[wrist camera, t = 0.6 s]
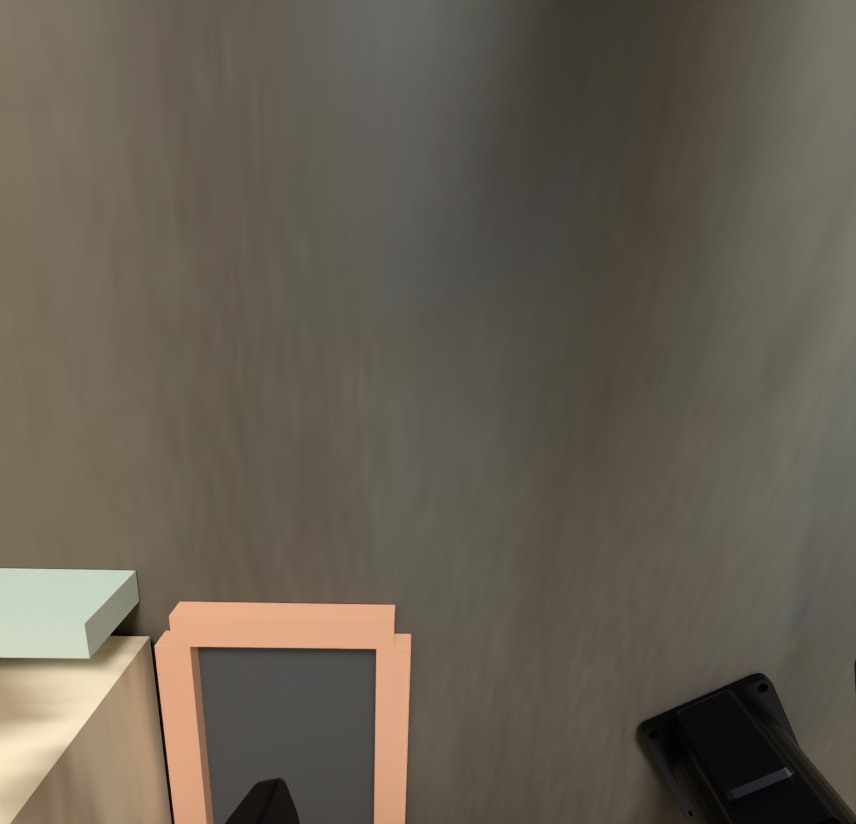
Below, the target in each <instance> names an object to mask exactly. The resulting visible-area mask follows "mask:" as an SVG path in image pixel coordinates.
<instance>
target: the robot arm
mask: <svg viewBox="0 0 856 824" xmlns="http://www.w3.org/2000/svg"><path fill="white" fill-rule="evenodd" d="M854 668H855V688H856V660H855V663H854ZM652 731H653V732H652ZM640 732H641V734H642V736H643V738H644V740H645V742H646V744H647V746H648V748H649V750H650V752H651V754H652V756H653V757H654V759H655V761H656V763H657V765H658V767H659V769H660V771H661V773H662V775H663V777H664V778H665V780H666V782H667V784H668V786H669V788H670V790H671V792H672V794H673V796H674V798H675V799H676V801H677V803H678V805H679V807H680V809H681V811H682V813H683V815H684V816H685V817H686V818H687V819H689V820H694V819H695V820H696V822H697V824H856V815H855V814H854V812H853V811H852V810H851V809H850V808H849V806H848V805H847V804H846V803H845V802H844V800H843V799H842V798H841V797H840V796H839V794H838V793H837V792H836V791H835V790H834V788H833V787H832V786H831V785H830V784H829V782H828V781H827V780H826V779H825V777H824V776H823V775H822V774H821V773H820V771H819V770H818V769H817V768H816V767H815V765H814V764H813V763H812V762H811V761H810V759H809V758H808V757H807V756H806V755H805V753H804V752H803V751H802V750H801V749H800V747H799V745H798V742H797V740H796V738H795V735H794V733H793V731H792V728H791V726H790V724H789V721H788V719H787V716H786V714H785V712H784V709H783V707H782V705H781V702H780V700H779V698H778V695H777V693H776V690H775V688H774V686H773V684H772V682H771V681H770V680H769V679H768V678H767V677H766V676H765V675H764V674H762V673H756V674H753V675H751V676H748V677H746V678H744V679H741V680H739V681H737V682H734V683H732V684H730V685H728V686H725V687H723V688H721V689H718V690H716V691H714V692H711V693H709V694H707V695H705V696H702V697H700V698H698V699H695V700H693V701H691V702H688V703H686V704H684V705H682V706H679V707H677V708H675V709H672V710H670V711H668V712H665V713H663V714H661V715H659V716H656V717H654V718H652V719H649V720H647V721H645V722H644V723H642V725H641V726H640ZM224 824H300V821H299V816H298V812H297V810H296V807H295V804H294V802H293V799H292V797H291V794H290V791H289V789H288V786H287V784H286V782H285V780H284V779H283V778H282V777H275V778H270V779H265V780H261V781H258V782H257V783H256V784H254V785H253V787H252V788H251V789H250V790H249V792H248V793H247V794H246V796H245V797H244V798H243V799H242V801H241V802H240V803H239V805H238V806H237V807H236V809H235V810H234V811H233V812H232V814H231V815H230V816H229V818H228V819H227V820H226V821H225V823H224Z"/></svg>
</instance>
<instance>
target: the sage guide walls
mask: <svg viewBox="0 0 856 824" xmlns="http://www.w3.org/2000/svg"><path fill="white" fill-rule="evenodd" d="M138 602H139V594H138V585H137V577H136V571H128V570H71V569H14V568H0V658H87V659H90V658H91V656H92V655H93V654H94V653H95V652H96V651H97V650H98V648H99V647H100V646H101V645H102V644H103V643H104V641H105V640H106V639H107V638H108V637H109V636H110V634H111V633H112V632H113V631H114V630H115V629H116V627H117V626H118V625H119V624H120V623H121V622H122V621H123V619H124V618H125V617H126V616H127V615H128V614H129V612H130V611H131V610H132V609H133V608H134V607H135V605H136V604H137V603H138Z"/></svg>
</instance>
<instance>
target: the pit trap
mask: <svg viewBox="0 0 856 824" xmlns="http://www.w3.org/2000/svg"><path fill="white" fill-rule="evenodd" d="M169 621H170V631H165V632H164V633H163V635H162V636H161V638H160V639H159V640H158V642H157V643H156V645H155V646H154V647H155V656H156V665H157V673H158V682H159V691H160V699H161V708H162V717H163V726H164V734H165V743H166V752H167V760H168V769H169V778H170V786H171V795H172V804H173V813H174V821H175V824H224V823H225V821H226V820H227V819H228V818H229V816H230V815H231V814H232V812H233V811H234V810H235V809H236V807H237V806H238V805H239V803H240V802H241V801H242V799H243V798H244V797H245V796H246V794H247V793H248V792H249V790H250V789H251V788H252V787H253V785H254V784H256V783H257V782H258V781H261V780H265V779H270V778H275V777H282V778H283V779H284V780H285V782H286V784H287V786H288V789H289V791H290V794H291V797H292V799H293V802H294V804H295V807H296V810H297V812H298V816H299V821H300V824H405V807H406V777H407V747H408V717H409V688H410V658H411V634H394V631H395V605H367V604H302V603H237V602H179V603H178V605H177V606H176V607H175V609H174V610H173V611H172V613H171V614H170V615H169Z"/></svg>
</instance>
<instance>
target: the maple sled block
mask: <svg viewBox="0 0 856 824" xmlns="http://www.w3.org/2000/svg"><path fill="white" fill-rule="evenodd" d="M0 824H172V822H171V814H170V805H169V797H168V788H167V780H166V771H165V763H164V754H163V745H162V737H161V728H160V720H159V711H158V703H157V694H156V686H155V677H154V669H153V660H152V652H151V643H150V636H109V637H108V638H107V639H106V640H105V641H104V643H103V644H102V645H101V646H100V647H99V648H98V650H97V651H96V652H95V653H94V654H93V655H92V656H91V658H90V659H87V658H0Z"/></svg>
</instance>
